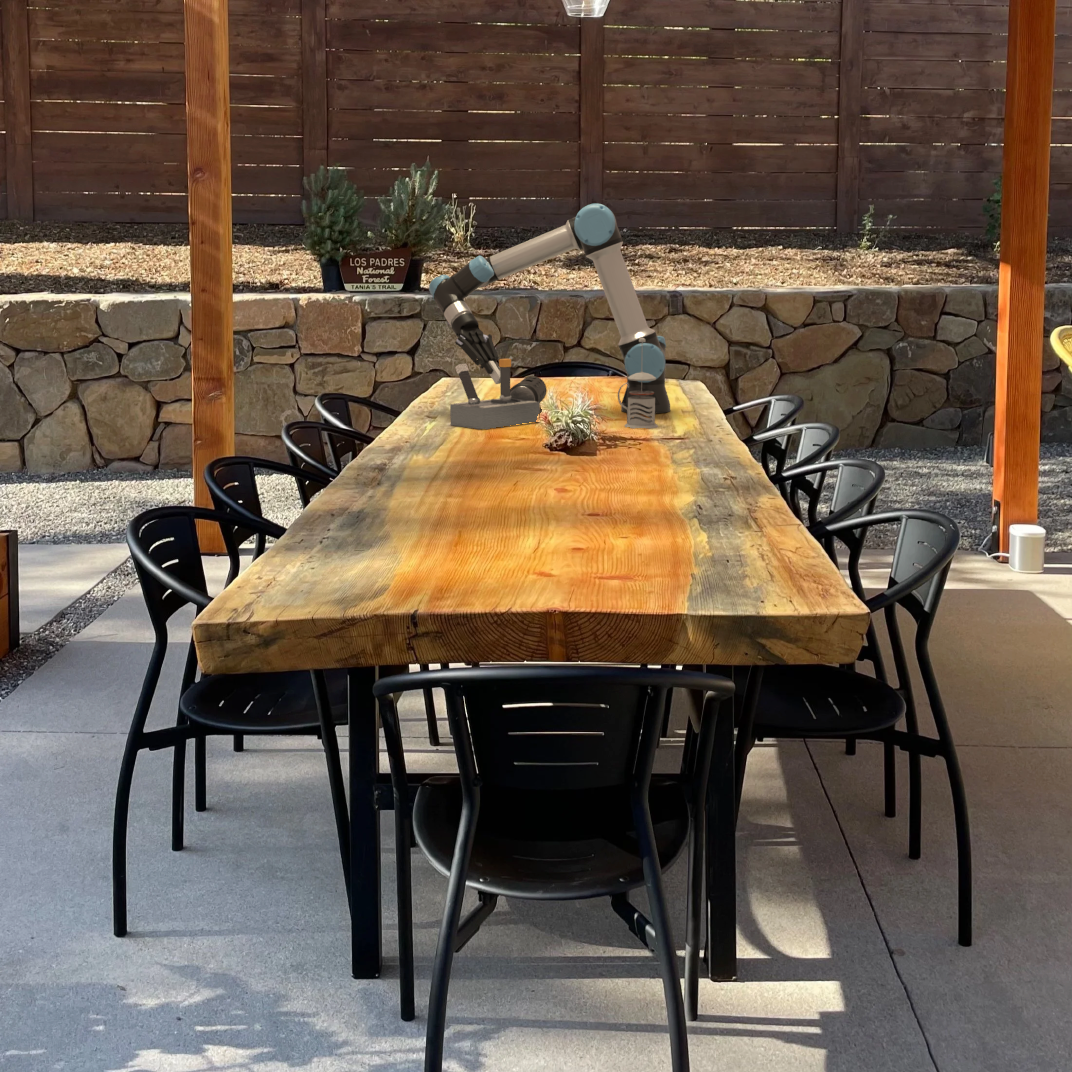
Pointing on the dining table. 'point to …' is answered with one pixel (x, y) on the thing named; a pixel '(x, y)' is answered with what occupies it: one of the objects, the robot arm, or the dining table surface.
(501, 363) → the lever
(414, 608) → the dining table surface
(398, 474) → the dining table surface
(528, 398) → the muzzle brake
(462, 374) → the twin lever control box
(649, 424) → the french press
